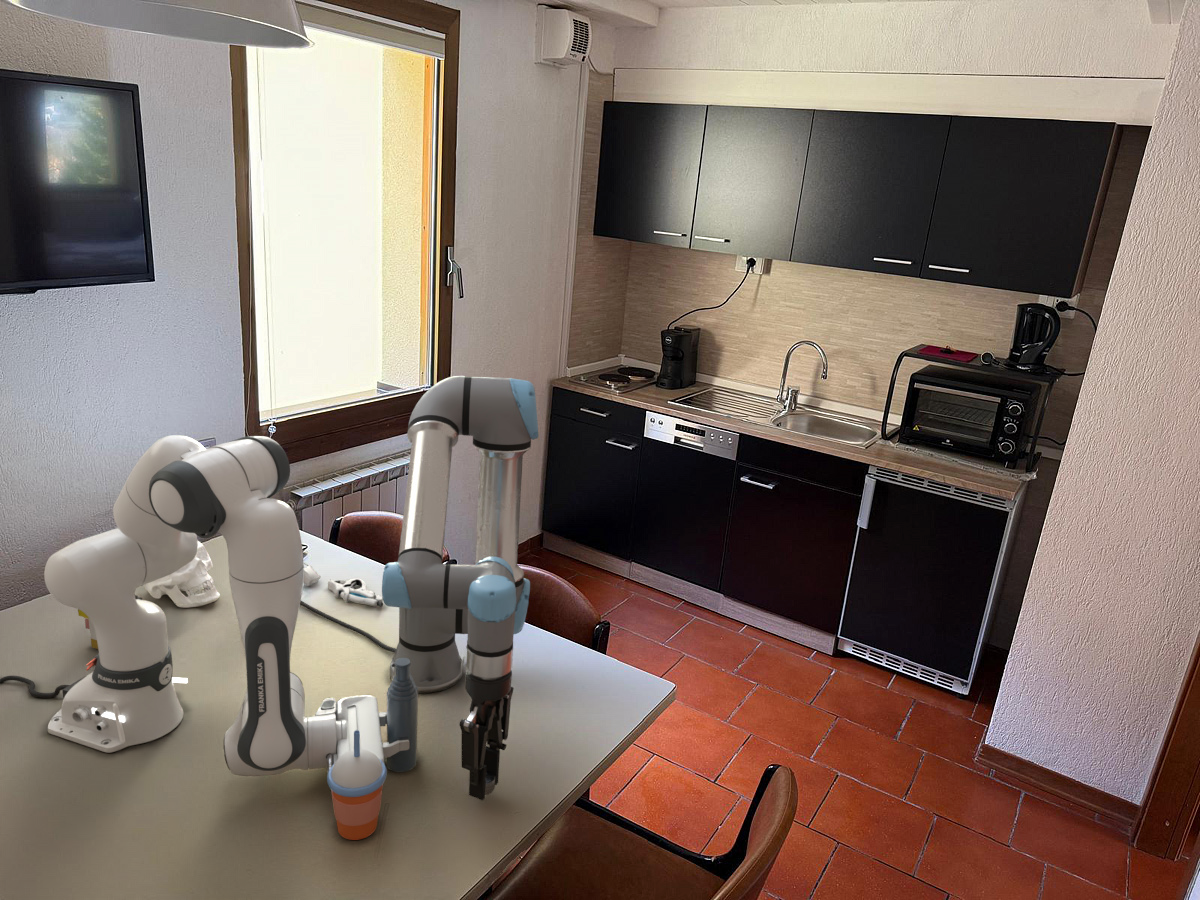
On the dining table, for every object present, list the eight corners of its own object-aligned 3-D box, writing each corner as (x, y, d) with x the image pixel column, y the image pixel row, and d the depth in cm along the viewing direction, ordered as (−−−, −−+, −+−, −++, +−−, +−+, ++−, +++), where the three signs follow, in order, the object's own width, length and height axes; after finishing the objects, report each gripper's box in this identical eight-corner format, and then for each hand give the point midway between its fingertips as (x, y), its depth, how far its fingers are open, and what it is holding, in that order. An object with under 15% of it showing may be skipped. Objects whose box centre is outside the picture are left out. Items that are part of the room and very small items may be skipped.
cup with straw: (370, 852, 133) (370, 755, 128) (317, 840, 135) (314, 743, 130) (395, 813, 142) (396, 720, 137) (345, 802, 144) (343, 710, 138)
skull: (199, 617, 197) (196, 553, 193) (122, 598, 203) (118, 535, 198) (238, 594, 209) (237, 534, 205) (165, 577, 215) (162, 518, 211)
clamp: (253, 565, 223) (254, 542, 221) (265, 560, 226) (266, 537, 224) (309, 593, 215) (310, 569, 213) (320, 588, 218) (321, 564, 216)
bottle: (387, 753, 157) (387, 653, 150) (417, 752, 158) (418, 653, 152) (385, 772, 152) (386, 670, 145) (416, 771, 153) (418, 669, 146)
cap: (489, 798, 144) (490, 786, 143) (468, 792, 145) (469, 781, 144) (498, 783, 148) (498, 773, 147) (477, 778, 149) (478, 767, 148)
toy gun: (401, 592, 212) (372, 604, 203) (400, 601, 212) (371, 613, 204) (347, 571, 220) (317, 582, 212) (347, 580, 221) (317, 592, 212)
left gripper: (326, 763, 138) (413, 752, 143) (325, 692, 157) (402, 684, 161) (327, 796, 140) (412, 784, 145) (325, 722, 159) (401, 713, 163)
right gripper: (495, 640, 148) (490, 755, 155) (440, 686, 134) (437, 811, 140) (533, 652, 146) (526, 768, 152) (481, 700, 131) (476, 827, 138)
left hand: (407, 731), depth 153 cm, fingers closed on bottle, 5 cm apart
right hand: (483, 788), depth 146 cm, fingers closed on cap, 4 cm apart
